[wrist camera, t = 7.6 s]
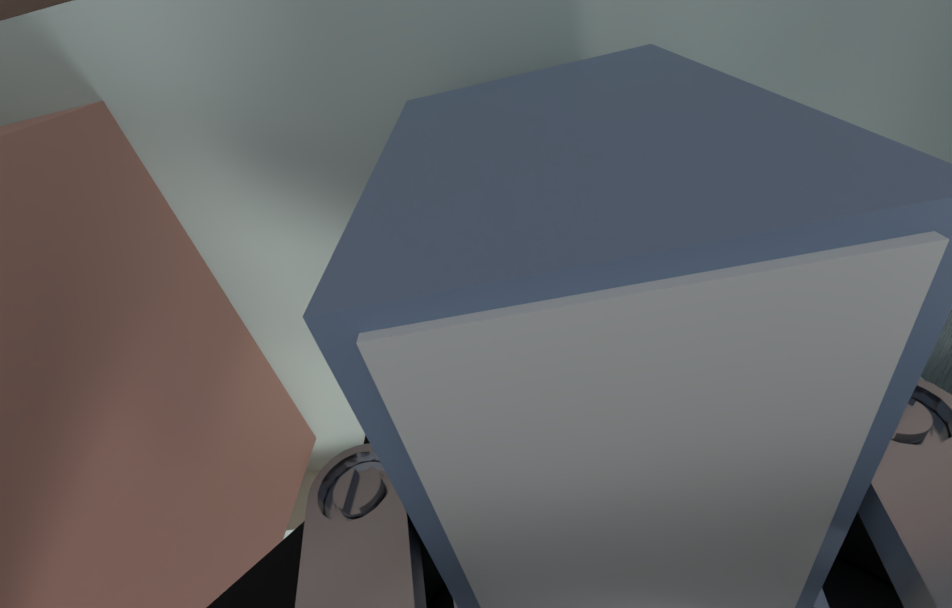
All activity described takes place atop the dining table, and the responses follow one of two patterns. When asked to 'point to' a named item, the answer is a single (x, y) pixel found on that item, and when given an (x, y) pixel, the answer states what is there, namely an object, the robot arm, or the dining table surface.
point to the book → (634, 330)
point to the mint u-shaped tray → (278, 238)
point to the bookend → (941, 360)
